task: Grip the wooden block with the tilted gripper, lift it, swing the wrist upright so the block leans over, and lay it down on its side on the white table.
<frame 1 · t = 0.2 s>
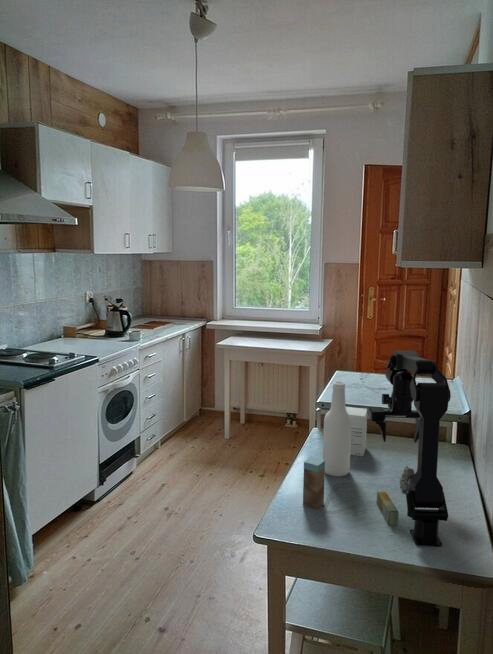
hand: (399, 441, 154), 15 cm above the table, tool pointing down, fingers open, 9 cm apart
alcohol: (335, 472, 167), on the table
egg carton: (413, 486, 158), on the table
supplement box: (352, 451, 184), on the table
medication box: (386, 515, 141), on the table
wooden block: (313, 504, 146), on the table
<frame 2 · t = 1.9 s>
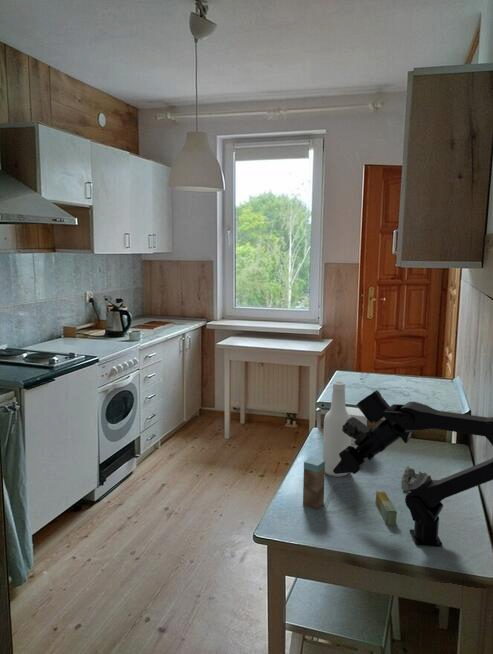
hand: (341, 466, 139), 13 cm above the table, tool tilted 45°, fingers open, 9 cm apart
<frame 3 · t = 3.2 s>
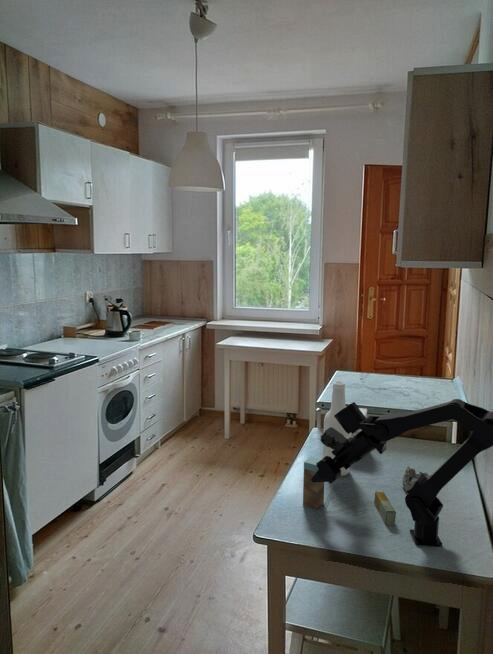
hand: (319, 474, 143), 9 cm above the table, tool tilted 45°, fingers open, 9 cm apart
nothing on the table moved.
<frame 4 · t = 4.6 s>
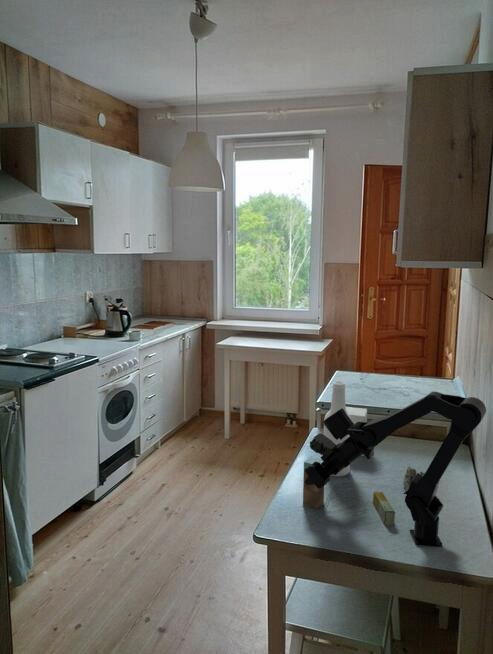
hand: (309, 480, 145), 7 cm above the table, tool tilted 45°, fingers closed on wooden block, 4 cm apart
wooden block: (313, 503, 146), on the table, touching gripper
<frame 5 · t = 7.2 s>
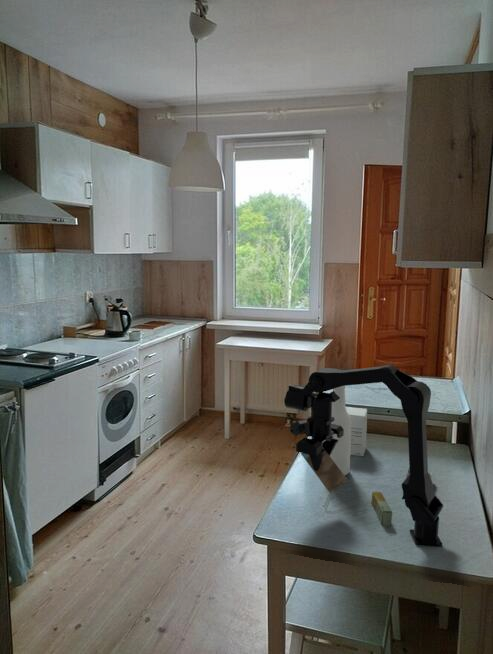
hand: (319, 467, 143), 11 cm above the table, tool pointing down, fingers closed on wooden block, 4 cm apart
wooden block: (338, 486, 140), point 8 cm above the table, tilted 45°, touching gripper
when the fingers open (6 cm above the table, at t = 9.2 s): wooden block moves 2 cm and tips over, point 2 cm above the table.
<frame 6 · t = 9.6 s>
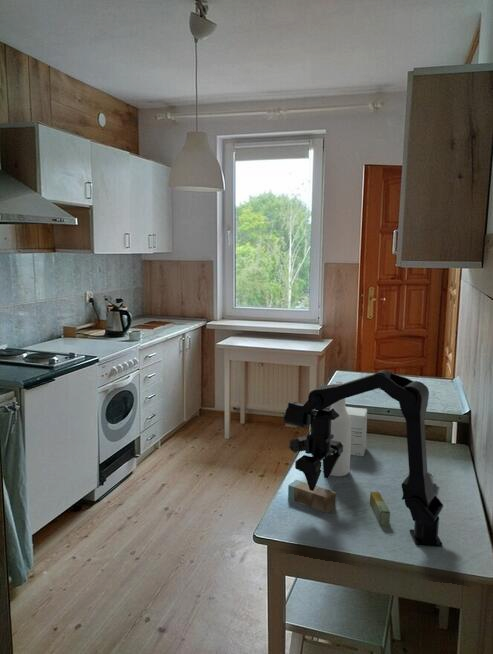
hand: (319, 484, 144), 6 cm above the table, tool pointing down, fingers open, 9 cm apart
wooden block: (331, 502, 142), point 2 cm above the table, tilted 90°
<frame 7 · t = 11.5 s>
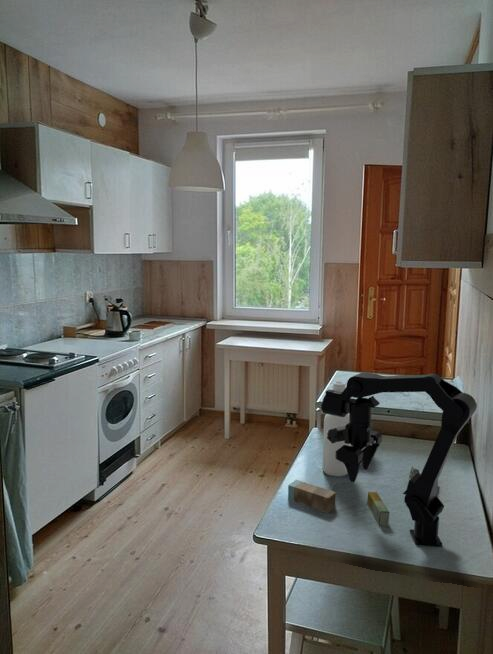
hand: (359, 475, 138), 12 cm above the table, tool pointing down, fingers open, 9 cm apart
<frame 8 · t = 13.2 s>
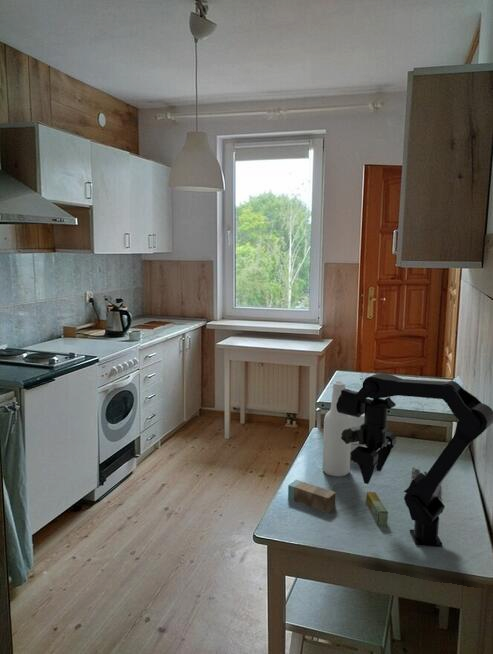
hand: (372, 476, 136), 12 cm above the table, tool pointing down, fingers open, 9 cm apart
at the end: wooden block tilted 90°; wooden block inside the target area (4.2 cm from its centre), point 2.1 cm above the table; the gripper is holding nothing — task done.
